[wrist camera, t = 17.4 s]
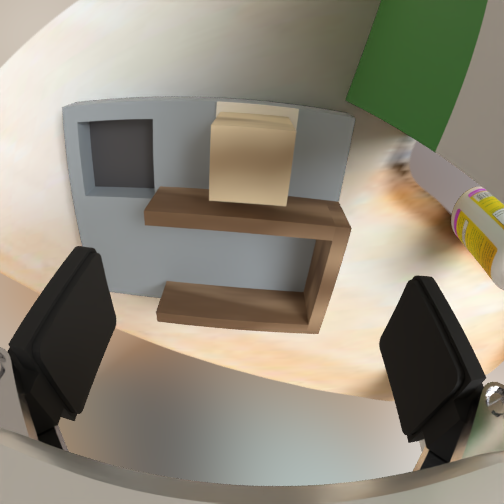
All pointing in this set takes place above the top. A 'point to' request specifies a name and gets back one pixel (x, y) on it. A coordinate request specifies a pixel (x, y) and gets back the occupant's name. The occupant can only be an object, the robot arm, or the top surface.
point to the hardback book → (440, 80)
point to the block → (251, 158)
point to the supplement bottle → (482, 230)
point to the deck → (188, 176)
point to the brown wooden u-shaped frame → (248, 299)
